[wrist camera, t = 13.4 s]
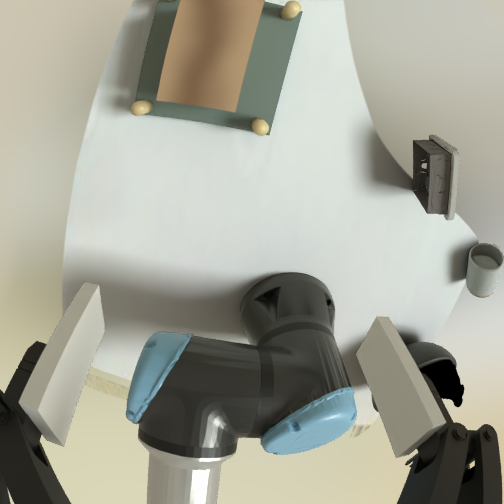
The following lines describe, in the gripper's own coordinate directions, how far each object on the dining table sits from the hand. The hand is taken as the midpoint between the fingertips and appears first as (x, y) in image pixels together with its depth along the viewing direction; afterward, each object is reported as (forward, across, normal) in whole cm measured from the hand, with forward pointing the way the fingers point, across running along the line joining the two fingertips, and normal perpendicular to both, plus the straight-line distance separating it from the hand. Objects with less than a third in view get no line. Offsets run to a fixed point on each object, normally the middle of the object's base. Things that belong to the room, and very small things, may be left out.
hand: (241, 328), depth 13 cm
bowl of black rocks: (+28, -43, +31) cm, 60 cm away
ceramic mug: (+27, -49, +4) cm, 56 cm away
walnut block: (+24, +5, -14) cm, 28 cm away
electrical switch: (+26, -25, -8) cm, 37 cm away
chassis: (+26, +5, -15) cm, 30 cm away
